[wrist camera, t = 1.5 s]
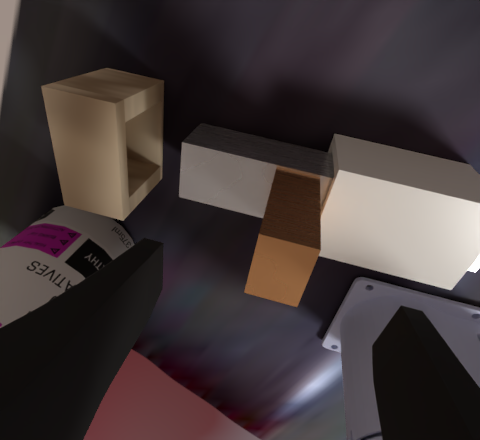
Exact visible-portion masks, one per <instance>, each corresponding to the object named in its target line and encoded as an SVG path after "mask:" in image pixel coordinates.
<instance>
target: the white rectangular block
mask: <svg viewBox="0 0 480 440" xmlns="http://www.w3.org/2000/svg"><path fill="white" fill-rule="evenodd" d="M328 153H332V155H333V165H334V178H333V180H332V183H331V186H330V188H329V191H328V194H327V196H326V199H325V202H324V204H323V207H322V209H321V251H320V253H319V256H321V257H325V258H329V259H333V260H337V261H340V262H344V263H348V264H352V265H356V266H360V267H364V268H367V269H371V270H375V271H379V272H383V273H387V274H390V275H394V276H398V277H402V278H406V279H410V280H413V281H417V282H421V283H425V284H429V285H433V286H436V287H440V288H444V289H448V290H452V289H453V287H454V286H455V285H456V284H457V283H458V281H459V280H460V279H461V278H462V276H463V275H464V274H465V273H466V272H467V270H468V269H469V268H470V267H471V265H472V264H473V263H474V262H475V261H476V259H477V258H478V257H479V256H480V175H479V174H478V173H477V172H476V171H475V170H474V168H473V167H472V166H471V165H470V164H465V163H461V162H457V161H452V160H448V159H443V158H439V157H435V156H430V155H426V154H422V153H417V152H413V151H409V150H404V149H400V148H396V147H391V146H387V145H383V144H378V143H374V142H370V141H365V140H361V139H357V138H352V137H348V136H344V135H339V134H335V133H334V136H333V139H332V142H331V145H330V148H329V150H328Z"/></svg>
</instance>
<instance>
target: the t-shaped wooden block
mask: <svg viewBox="0 0 480 440" xmlns="http://www.w3.org/2000/svg"><path fill="white" fill-rule="evenodd" d="M333 178H334V165H333V155H332V153H328V152H323V151H319V150H315V149H311V148H306V147H302V146H298V145H294V144H289V143H285V142H281V141H277V140H272V139H268V138H264V137H260V136H255V135H251V134H247V133H243V132H238V131H234V130H230V129H226V128H221V127H217V126H213V125H209V124H204V123H201V124H200V125H199V126H198V127H197V128H196V129H195V130H194V131H193V132H192V133H191V134H190V135H189V136H188V137H187V138H186V139H185V140H184V141H183V142H182V151H181V168H180V186H179V197H181V198H185V199H189V200H193V201H197V202H201V203H205V204H209V205H213V206H217V207H220V208H224V209H228V210H232V211H236V212H240V213H244V214H248V215H252V216H256V217H260V218H263V221H262V224H261V228H260V232H259V236H258V240H257V244H256V248H255V252H254V256H253V260H252V264H251V267H250V271H249V275H248V279H247V283H246V287H245V291H244V293H247V294H251V295H254V296H258V297H262V298H265V299H269V300H273V301H276V302H280V303H284V304H287V305H291V306H295V307H297V306H298V304H299V302H300V299H301V297H302V294H303V292H304V290H305V287H306V285H307V282H308V280H309V278H310V275H311V273H312V270H313V268H314V265H315V263H316V261H317V258H318V256H319V253H320V251H321V209H322V207H323V204H324V202H325V199H326V196H327V194H328V191H329V188H330V186H331V183H332V180H333ZM479 268H480V256H479V257H478V258H477V259H476V261H475V262H474V263H473V264H472V265H471V267H470V268H469V269H468V271H472V272H475V273H476V272H477V270H478V269H479Z"/></svg>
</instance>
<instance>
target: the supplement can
mask: <svg viewBox="0 0 480 440" xmlns="http://www.w3.org/2000/svg"><path fill="white" fill-rule="evenodd" d="M133 245H134V243H133V240H132V238H131V237H130V236H129V235H128V233H127V232H126V231H125V229H124V228H123V227H122V226H121V225H119V224H118V223H117V222H116V221H114V220H113V219H112V218H111V217H107V216H103V215H99V214H96V213H92V212H88V211H84V210H80V209H77V208H73V207H69V206H65V205H64V206H59V207H55V208H53V209H51V210H50V211H49V212H47V213H46V214H45V215H43V216H42V217H41V218H39V219H38V220H37V221H35V222H34V223H33V224H31V225H30V226H29V227H27V228H26V229H25V230H23V231H22V232H21V233H19V234H18V235H17V236H15V237H14V238H13V239H11V240H10V241H9V242H7V243H6V244H5V245H3V246H2V247H1V248H0V328H1V327H3V326H5V325H7V324H9V323H11V322H13V321H15V320H16V319H18V318H20V317H22V316H24V315H26V314H28V313H29V312H31V311H33V310H35V309H37V308H38V307H40V306H42V305H44V304H45V303H47V302H49V301H50V300H52V299H54V298H55V297H57V296H59V295H60V294H62V293H64V292H65V291H67V290H68V289H70V288H72V287H73V286H75V285H77V284H78V283H80V282H81V281H83V280H84V279H86V278H87V277H89V276H90V275H92V274H93V273H95V272H96V271H98V270H99V269H101V268H102V267H104V266H105V265H107V264H108V263H109V262H111V261H112V260H114V259H115V258H117V257H118V256H119V255H121V254H122V253H124V252H125V251H126V250H128V249H129V248H131V247H132V246H133Z"/></svg>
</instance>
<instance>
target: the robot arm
mask: <svg viewBox="0 0 480 440" xmlns="http://www.w3.org/2000/svg"><path fill="white" fill-rule="evenodd" d="M162 281H163V243H161V242H157V241H153V240H150V239H146V238H144V239H142V240H140V241H139V242H138V243H136V244H135V245H133V246H132V247H131V248H129V249H128V250H126V251H125V252H124V253H122V254H121V255H119V256H118V257H117V258H115V259H114V260H112V261H111V262H109V263H108V264H107V265H105V266H104V267H102V268H101V269H99V270H98V271H96V272H95V273H93V274H92V275H90V276H89V277H87V278H86V279H84V280H83V281H81V282H80V283H78V284H77V285H75V286H73V287H72V288H70V289H68V290H67V291H65V292H64V293H62V294H60V295H59V296H57V297H55V298H54V299H52V300H50V301H49V302H47V303H45V304H44V305H42V306H40V307H38V308H37V309H35V310H33V311H31V312H29V313H28V314H26V315H24V316H22V317H20V318H18V319H16V320H15V321H13V322H11V323H9V324H7V325H5V326H3V327H1V328H0V440H83V439H84V436H85V434H86V432H87V430H88V428H89V426H90V424H91V422H92V420H93V418H94V415H95V413H96V411H97V409H98V407H99V405H100V403H101V401H102V399H103V397H104V395H105V393H106V392H107V390H108V388H109V386H110V384H111V382H112V381H113V379H114V377H115V375H116V374H117V372H118V371H119V369H120V367H121V366H122V364H123V362H124V360H125V359H126V357H127V355H128V354H129V352H130V350H131V349H132V347H133V345H134V343H135V342H136V340H137V338H138V337H139V335H140V333H141V331H142V330H143V328H144V326H145V325H146V323H147V321H148V319H149V318H150V315H151V313H152V311H153V309H154V307H155V304H156V302H157V300H158V297H159V295H160V293H161V290H162ZM367 285H372V286H370V287H368V286H367ZM322 346H323V347H324V348H326V349H330V350H333V351H337V352H341V359H342V374H343V389H344V404H345V419H346V435H347V440H480V307H476V306H472V305H468V304H464V303H461V302H457V301H453V300H449V299H445V298H442V297H438V296H434V295H430V294H426V293H422V292H419V291H415V290H411V289H407V288H403V287H400V286H396V285H392V284H388V283H384V282H381V281H377V280H373V279H369V278H365V277H358V278H356V279H355V280H354V282H353V284H352V285H351V287H350V289H349V291H348V293H347V295H346V297H345V298H344V300H343V302H342V304H341V306H340V308H339V310H338V311H337V313H336V315H335V317H334V319H333V321H332V323H331V324H330V326H329V328H328V330H327V332H326V334H325V336H324V337H323V339H322Z"/></svg>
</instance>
